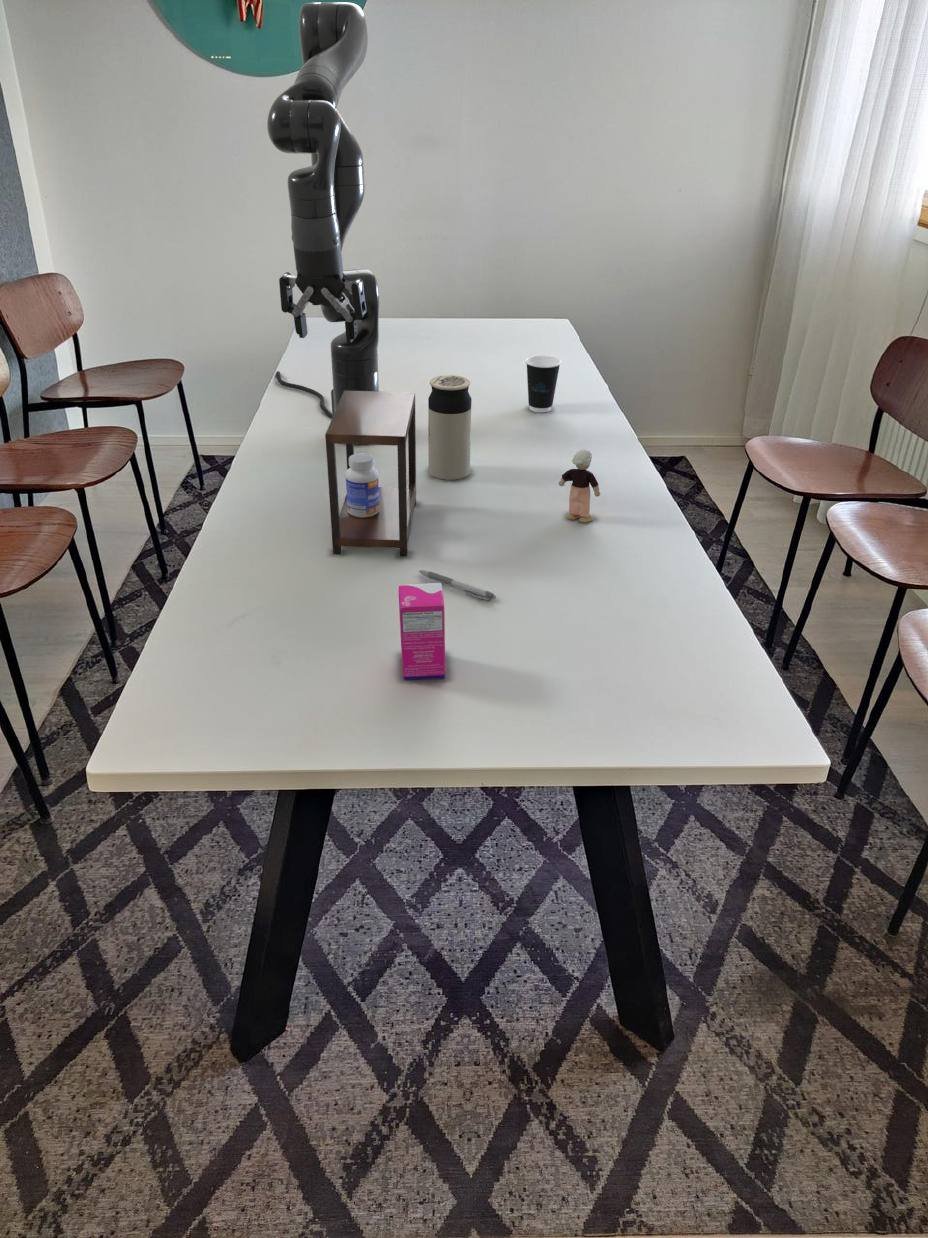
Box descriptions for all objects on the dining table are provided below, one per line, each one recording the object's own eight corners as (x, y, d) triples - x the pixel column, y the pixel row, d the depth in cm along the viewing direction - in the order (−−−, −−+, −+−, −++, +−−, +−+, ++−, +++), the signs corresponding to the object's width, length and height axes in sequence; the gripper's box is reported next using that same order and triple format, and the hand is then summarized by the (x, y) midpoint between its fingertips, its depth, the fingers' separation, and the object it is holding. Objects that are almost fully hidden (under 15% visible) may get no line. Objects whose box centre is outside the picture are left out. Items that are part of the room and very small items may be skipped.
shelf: (333, 554, 147) (325, 434, 136) (349, 501, 164) (344, 390, 153) (407, 556, 147) (405, 436, 136) (416, 503, 164) (415, 392, 153)
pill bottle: (374, 520, 151) (372, 465, 146) (343, 516, 152) (340, 462, 147) (383, 506, 156) (381, 452, 151) (353, 502, 157) (350, 449, 151)
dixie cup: (532, 416, 203) (535, 367, 197) (516, 405, 209) (519, 357, 203) (563, 412, 205) (567, 363, 199) (547, 401, 211) (551, 353, 205)
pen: (493, 603, 136) (494, 595, 135) (416, 577, 142) (416, 569, 141) (497, 600, 136) (497, 592, 136) (420, 574, 143) (420, 566, 142)
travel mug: (476, 469, 177) (478, 378, 168) (459, 484, 171) (460, 390, 162) (439, 461, 180) (440, 371, 170) (421, 476, 174) (420, 383, 164)
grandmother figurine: (600, 516, 161) (608, 448, 154) (596, 525, 158) (603, 457, 151) (558, 509, 163) (563, 442, 156) (553, 518, 160) (558, 450, 153)
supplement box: (399, 655, 124) (398, 582, 118) (443, 654, 124) (444, 581, 118) (401, 681, 119) (399, 606, 113) (446, 679, 119) (447, 605, 113)
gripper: (366, 236, 147) (373, 333, 157) (283, 230, 149) (295, 325, 160) (351, 252, 141) (359, 351, 152) (265, 245, 144) (279, 343, 154)
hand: (326, 338), depth 156 cm, fingers open, 8 cm apart
